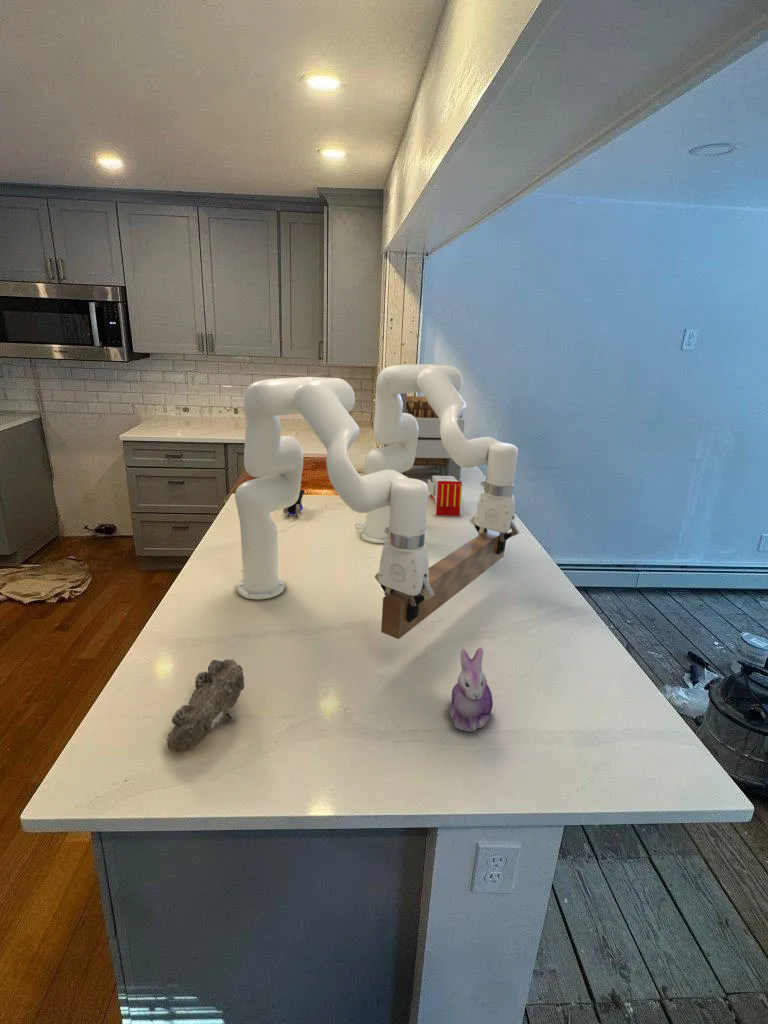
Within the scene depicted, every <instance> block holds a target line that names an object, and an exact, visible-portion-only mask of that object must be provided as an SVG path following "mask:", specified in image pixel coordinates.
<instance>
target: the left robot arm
mask: <svg viewBox="0 0 768 1024" xmlns="http://www.w3.org/2000/svg"><path fill="white" fill-rule="evenodd" d="M355 403H356V394H355V392H354V389H353V387H352V386H351V385H350V384H349V383H348V381H346V380H345V379H343V378H339V377H321V376H320V377H319V376H296V377H280V378H278V377H277V378H270V379H269V378H268V379H261V380H258V381H255V382H252V383H251V384H250V385H248V388H247V389H246V390H245V393H244V398H243V407H244V415H245V434H244V451H243V466H244V467H243V468H244V470H245V473H246V474H248V475H249V476H250V477H253V479H249V480H246V481H245V482H243V483H241V484H240V485H239V486H238V487H237V488H236V489H235V492H234V501H235V504H236V510H237V514H238V518H239V526H240V527H239V529H240V543H241V545H240V546H241V565H242V567H241V568H242V569H241V572H242V580H241V581H240V582H238V584H237V592H238V594H239V595H240V596H241V597H243V598H246V599H249V600H267V599H271V598H274V597H277V596H279V595H281V593H283V591H284V589H285V583H284V581H283V579H281V578H279V548H278V547H279V545H278V528H277V526H276V524H275V522H274V521H273V519H272V518H271V516H270V514H271V513H275V512H276V511H277V512H278V511H281V510H283V509H284V508H287V507H290V506H292V505H294V504H295V503H296V501H297V500H298V497H299V493H300V490H301V486H302V479H303V478H302V476H303V471H304V470H303V468H304V451H303V448H302V446H301V444H300V442H299V441H298V440H297V438H295V437H293V436H291V435H281V433H282V423H281V420H280V419H279V416H286V415H287V416H288V415H296V414H301V416H302V418H303V419H304V420H305V421H306V423H307V424H308V425H309V427H310V429H312V431H313V432H314V434H315V435H316V437H317V438H318V439H319V441H320V442H321V443H322V445H323V447H324V448H325V449H326V458H325V459H326V461H325V465H326V470H327V471H326V472H327V476H328V478H329V482H330V484H331V486H332V488H333V489H334V490H335V492H336V493H337V495H338V496H339V498H340V499H341V500H342V502H343V503H344V504H345V505H346V506H347V507H348V508H349V509H350V510H352V511H353V512H355V513H357V514H367V513H368V512H371V511H374V510H377V509H379V508H382V507H387V506H390V520H389V527H386V528H385V533H387V534H388V540H386V541H385V543H383V546H382V551H381V555H380V560H379V561H380V562H379V569H378V572H377V573H376V574H375V575H374V579H375V580H376V581H377V583H378V584H380V588H381V589H382V591H384V593H383V594H384V597H385V596H387V595H388V594H390V593H391V592H393V591H394V590H396V591H399V592H402V593H405V594H408V595H409V598H410V605H408V612H407V621H408V622H411V621H413V620H414V619H415V618H417V616H418V611H419V603H421V602H422V601H424V600H427V599H430V598H431V597H433V596H434V593H433V591H432V589H431V587H430V585H429V583H428V578H429V567H430V566H429V565H430V564H429V562H430V561H429V554H428V553H429V551H428V548H427V546H426V545H425V543H426V529H427V515H428V503H429V491H428V486H427V485H428V483H426V482H425V481H423V480H421V479H418V478H411V477H409V476H406V475H404V473H403V474H401V473H399V472H397V471H395V470H389V469H387V470H382V471H378V472H374V473H370V474H367V473H366V474H363V475H360V473H358V471H357V470H356V469H355V467H354V466H353V464H352V463H351V461H350V459H349V455H348V450H349V449H350V448H351V447H352V446H353V445H354V444H355V442H356V441H357V440H358V438H359V436H360V431H361V430H360V427H359V425H358V423H357V421H355V420H354V418H353V417H352V416H351V414H350V412H351V411H352V410H353V408H354V406H355ZM421 589H423V591H424V594H422V595H421Z"/></svg>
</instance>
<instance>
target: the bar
mask: <svg viewBox="0 0 768 1024" xmlns="http://www.w3.org/2000/svg"><path fill="white" fill-rule="evenodd" d="M499 540H500V534H499V532H497V531H493V530H489V529H487V530H486V531H484V532H483V533H481V534H480V535H477V536H475V537H474V538H472V539H471V540H469V541H467V542H466V543H464V544H463V545H461V546H460V547H459V548H457V549H455V550H454V551H451V553H449V554H447V555H446V556H445V557H443V558H441V559H440V560H439V561H437V562H435V563H434V564H433V565H431V566H429V578H428V583H429V585H430V587H431V589H432V591H433V593H434V596H433V597H431V598H430V599H427V600H424V601H422V602H421V603H419V611H418V616H417V618H415V619H414V620H413V621H411V622H408V621H407V612H408V605H410V598H409V595H408V594H405V593H402V592H399V591H396V590H394V591H393V592H391V593H390V594H388V595H387V596H385V595H384V596H383V598H382V609H381V610H382V611H381V630H380V632H381V633H382V634H385V635H388V636H389V637H392V638H394V639H397V640H400V639H401V638H402V637H404V636H405V635H406V634H408V632H410V631H412V630H413V628H415V627H416V626H418V625H419V624H421V622H423V621H424V620H425V619H427V618H428V617H429V616H431V615H432V614H433V613H434V612H435V611H437V610H438V609H439V608H440V607H442V606H443V605H444V604H446V603H447V602H448V601H450V600H451V599H452V598H453V597H455V596H456V595H457V594H458V593H460V592H461V591H462V590H464V589H465V588H466V587H467V586H468V585H470V584H471V583H472V582H474V581H475V580H477V579H478V578H479V577H480V576H481V575H483V574H484V573H486V572H487V571H488V570H489V569H490V568H491V567H493V566H494V565H495V564H497V563H498V562H499V561H500V560H502V559H503V558H504V556H505V550H504V551H503V552H502V553H501V554H499V555H498V554H497V546H498V541H499ZM422 594H424V591H423V589H421V595H422Z"/></svg>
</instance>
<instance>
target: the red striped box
mask: <svg viewBox="0 0 768 1024" xmlns="http://www.w3.org/2000/svg"><path fill="white" fill-rule="evenodd" d="M427 486H428V493H430V494H429V496H430V498H432V500H433V501H434V502H435V504H436V508H435V512H436V513H435V516H441V517H442V516H443V517H460V516H461V506H462V491H463V490H462V487H463V481H460V482H459V481H458V480H456V479H455V478H454V477H453V476H443V475H432V478H431V480H430V479H429V478H428V479H427Z"/></svg>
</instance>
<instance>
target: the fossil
mask: <svg viewBox="0 0 768 1024" xmlns="http://www.w3.org/2000/svg"><path fill="white" fill-rule="evenodd" d="M243 670H244V669H243V667H242V665H240V664H237V662H236V661H235V660H234V659H232V658H231V659H227V658H226V659H224V660H223V661H222V660H217V659H212V660H211V661H210V663H209V665H208V666H207V671H201V672H199V673H198V674H197V675H196V676H195V680H194V684H195V685H194V687H195V689H194V690H193V693H192V694H191V697H190V698H189V700H188V704H184V705H182V706H181V707H180V709H177V710H176V711H175V713H174V715H173V716H172V718H171V723H172V724H173V727H172V730H171V731H170V732H168V734H167V738H166V741H167V742H166V745H167V749H168V750H169V751H173V752H174V753H176V754H178V753H182V752H188V751H189V752H192V751H193V750H195V748H196V747H197V746H199V744H200V743H201V742H203V741H204V740H205V739H206V738H207V737H208V736H209V735H210V734H211V733H212V732H214V730H215V729H217V727H218V726H219V724H220V722H221V721H222V720H223V719H224V718H225V716H226V717H227V719H229V720H233V717H232V715H230V714H229V710H230V709H231V708H234V706H235V704H236V703H237V702H238V699H239V697H240V695H241V693H242V691H243V690H245V689H244V688H245V675H244V671H243Z"/></svg>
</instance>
